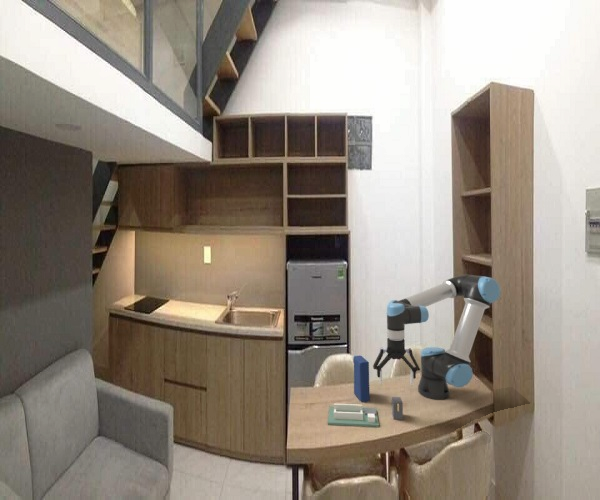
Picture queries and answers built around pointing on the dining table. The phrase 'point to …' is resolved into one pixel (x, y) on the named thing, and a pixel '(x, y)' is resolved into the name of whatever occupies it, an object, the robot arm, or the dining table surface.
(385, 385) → the dining table surface
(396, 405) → the grey upright block
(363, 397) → the tall blue block
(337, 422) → the header board
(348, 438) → the dining table surface
